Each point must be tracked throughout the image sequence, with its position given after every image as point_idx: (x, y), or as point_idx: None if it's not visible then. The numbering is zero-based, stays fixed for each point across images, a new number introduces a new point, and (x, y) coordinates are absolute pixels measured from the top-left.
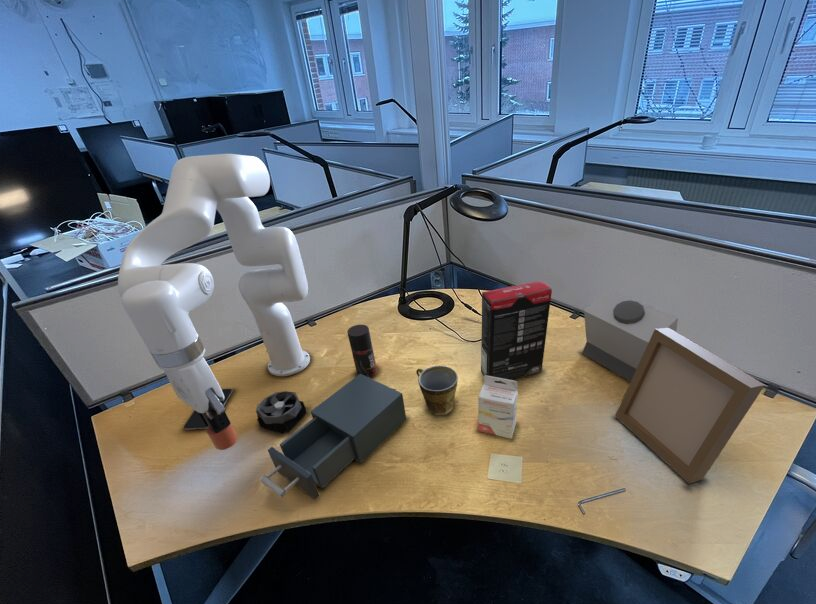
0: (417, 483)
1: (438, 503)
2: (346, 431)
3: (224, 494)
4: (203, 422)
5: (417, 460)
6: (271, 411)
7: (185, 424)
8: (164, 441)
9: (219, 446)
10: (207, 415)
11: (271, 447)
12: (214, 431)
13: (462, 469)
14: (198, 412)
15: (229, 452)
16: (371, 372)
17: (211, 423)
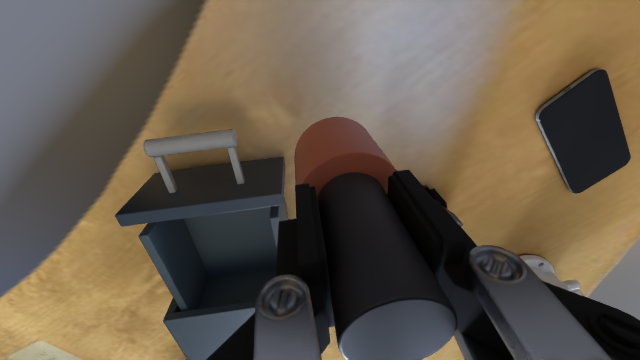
0: (89, 286)
1: (30, 286)
2: (187, 319)
3: (327, 43)
4: (412, 180)
5: (135, 304)
6: None
7: (607, 76)
8: (623, 10)
9: (310, 133)
10: (307, 299)
11: (281, 203)
12: (299, 189)
13: (76, 329)
14: (445, 242)
15: (429, 109)
16: None
17: (297, 235)
